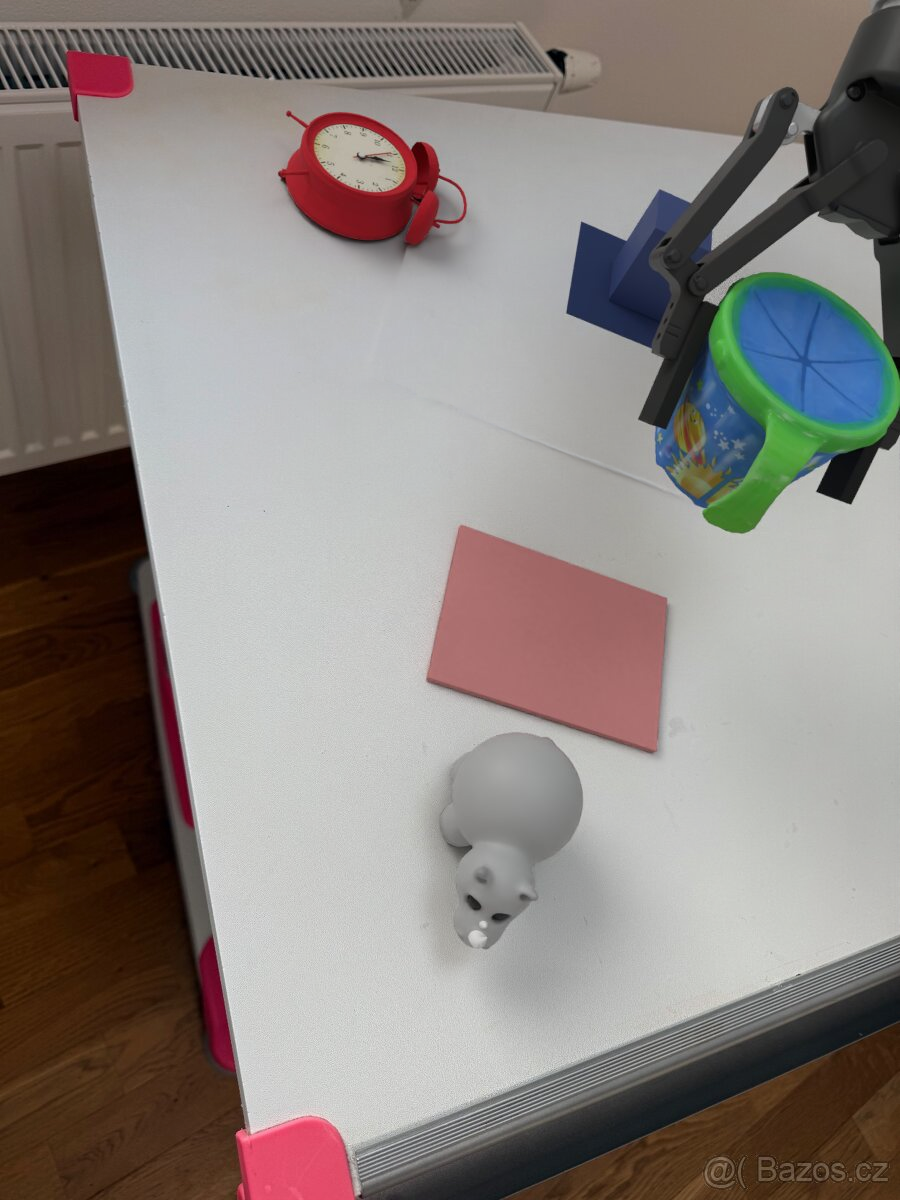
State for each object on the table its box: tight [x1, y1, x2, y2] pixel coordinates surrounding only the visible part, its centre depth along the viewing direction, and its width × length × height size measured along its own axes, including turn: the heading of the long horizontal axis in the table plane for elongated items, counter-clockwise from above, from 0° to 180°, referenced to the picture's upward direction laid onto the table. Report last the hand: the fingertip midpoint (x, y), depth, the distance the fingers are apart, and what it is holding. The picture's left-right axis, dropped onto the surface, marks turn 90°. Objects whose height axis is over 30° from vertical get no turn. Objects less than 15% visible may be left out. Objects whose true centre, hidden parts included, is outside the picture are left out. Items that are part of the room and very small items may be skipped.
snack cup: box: [654, 271, 900, 535], centre depth 53 cm, size 16×10×10 cm
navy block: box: [608, 188, 713, 321], centre depth 81 cm, size 5×5×8 cm
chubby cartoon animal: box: [438, 731, 584, 950], centre depth 53 cm, size 7×12×8 cm, turn 161°
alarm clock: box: [277, 110, 468, 246], centre depth 77 cm, size 10×6×15 cm
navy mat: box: [565, 221, 661, 350], centre depth 84 cm, size 12×12×1 cm
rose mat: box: [426, 524, 668, 754], centre depth 65 cm, size 16×12×1 cm
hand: (744, 462), depth 52 cm, fingers closed on snack cup, 10 cm apart
